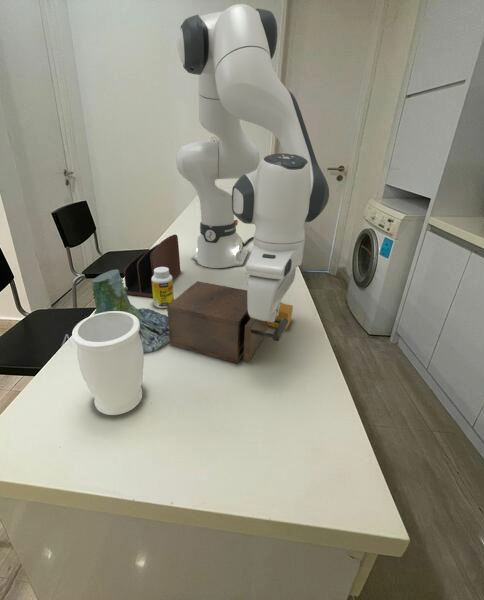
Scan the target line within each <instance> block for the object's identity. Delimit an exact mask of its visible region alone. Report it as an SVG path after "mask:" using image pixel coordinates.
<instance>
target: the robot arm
mask: <svg viewBox="0 0 484 600" xmlns="http://www.w3.org/2000/svg"><path fill="white" fill-rule="evenodd" d="M179 29H180V30H179V34H178V37H177V51H178V56H179V60H180V61H181V63H182V67H183V69H184V70H185V71H186V72H187V73H188V74H191V75H196V76H197V75H198V120H199V123H200V125H201V127H202V128H203V129H204V130H206V131H207V132H208V133H210V134H212V135H214V136H216V137H217V138H218V139H219V140H215V141H195V142H191V143H187V144H183V145H182V146H181V147H180V148H179V150H178V152H177V155H176V161H175V162H176V167H177V170H178V173H179V174H180V175H181V177H182V178H184V179H185V180H186V181H187V182H189V183H190V184H191V186H192V187H193V188H194V190H195V191H196V193H197V196H198V199H199V205H200V219H201V220H200V222H199V232H200V235H199V236H198V237H197V240H196V253H195V254H194V255H193V259H194V260H195V261H196V262H197V264H198V265H199V266H201V267H205V268H210V269H226V268H230V267H240V266H243V265H244V264H245V275H248V279H247V286H246V287H247V288H246V290H247V306H248V314H249V316H250V317H251V318H253V319H257V320H262V321H268V322H274V321H275V320H276V318H277V316H278V314H279V307H280V304H281V303H282V301H283V299H284V297H285V295H286V294H287V292H288V291H289V289H290V288H291V286H292V285H293V283H294V281H295V278H296V271H297V270H296V269H297V268H298V267H300V266H301V265H302V263H303V260H304V250H305V243H306V242H305V241H306V231H305V223H310V222H312V221H314V220H316V218H318V217H319V216H320V214H322V213H323V211H324V209H325V208H326V206H327V204H328V202H329V199H330V188H329V187H330V186H329V184H328V183H329V182H328V181H327V178H326V177H325V175H324V172H323V171H322V169H321V167H320V165H319V163H318V161H317V158H316V154H315V151H314V149H313V146H312V142H311V139H310V137H309V136H310V135H309V132H308V130H307V127H306V124H305V121H304V118H303V115H302V112H301V109H300V106H299V103H298V101H297V99H296V96H295V95H294V93H292V92H291V91H290V90H289V89H287V88H286V86H285V85H284V84H283V82H282V81H281V80H280V78H279V76H278V75H277V72H276V71H275V68H274V65H273V62H272V59H273V58H274V55H275V53H276V49H277V43H278V23H277V19H276V17H275V15H274V13H273V12H272V11H270V10H269V9H265V8H258V7H257V8H256V9H255V8H254V7H252V6H250V5H248V4H245V3H237V4H233V5H231V6H229V7H227V8H226V9H224V10H222V11H216V12H211V13H206V14H202V15H199V14H195V15H192V16H189V17H187V18H185V19H184V21H182V23H181V25H180V28H179ZM240 120H241V121H244V122H247V123H251V124H254V125H256V126H260V127H262V128H264V129H266V130H267V131H269V132H270V133H272V134H273V135H274V136H275V137H276V138H277V140H278V142H279V144H280V147H281V151H282V153H272V154H268V155H266V156H264V157H263V158H262V159H261V160H260V152H259V149H258V147H257V146H256V144H255V143H254V142H253V141H252V140H250V139H249V138H248V137H247V136H246V134H245V132H244V131H243V129H242V126H241V121H240ZM234 179H237V180H236V182H234V185H233V186H232V189H231V193H229V192H228V191H226V190H224V189H222V188H220V187H218V186H217V185H216V181H217V180H234ZM235 218H237V219H235ZM239 221H240V222H242V223H243V224H247V225H254V226H255V229H254V234H253V236H252V237H250V238H248V239H247V241H246V242H245V243H244V241H243V237H241V236H240V235H239V234H238V233H237V226H238V224H239ZM252 240H253V244H252V247H251V253H250V255H249V256H248V254H249V249H248V248H247V249H246V248H244V246H247V245H248V244H249V242H250V241H252ZM247 256H248V259H247ZM246 259H247V261H246V263H245V260H246Z"/></svg>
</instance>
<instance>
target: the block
mask: <svg viewBox="0 0 484 600" xmlns="http://www.w3.org/2000/svg"><path fill="white" fill-rule="evenodd" d="M293 306H294V305H293V304H289V303H283V302H281V304H280V307H279V314H278V316H277V318H276V319H279V320H282V319H283V318H285V319H287V320H288V324H287V326H286V328H285V330H284V331H287V330H288V327H289V326H290V324H291V322H292V315H293V308H294V307H293ZM278 325H279V323H275V322H268V327H272V328H275V329H277V327H278Z"/></svg>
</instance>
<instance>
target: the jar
mask: <svg viewBox="0 0 484 600" xmlns="http://www.w3.org/2000/svg"><path fill="white" fill-rule="evenodd" d="M139 329H140V324H139V320H138V318H137V317H136V316H134V315H133V314H130V313H127V312H122V311H109V312H102V313H98V314H95V315H94V314H92V315H90V316H88V317H85V318H84V319H82V320H80V321H79V322H78V323H77V324H76V325H75V326H74V327H73V329H72V332H71V336H72V340H73V342H74V344H75V345H76V346H77V347H76V352H77V353H76V354H77V363H78V367H79V370H80V374H81V376H82V379H83V380H84V382H85V384H86V387H87V390H88V392H89V393H90V394H91V396H92V398H94V407H95V408H96V410H97V411H98V412H100V413H101V414H104V415H108V416H117V415H118V416H119V415H122V414H127V413H129V412H130V411H132V410H133V409H134V408H136V407H137V406H138V405H139V404H140V402H141V400H142V398H143V389H142V387H141V386H142V382H143V379H144V378H143V377H144V364H145V363H144V361H145V353H143V347H142V342H141V339H140V336H139V334H138V332H139Z"/></svg>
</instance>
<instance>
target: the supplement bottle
mask: <svg viewBox="0 0 484 600" xmlns="http://www.w3.org/2000/svg"><path fill="white" fill-rule="evenodd" d="M151 280H152V291H153V297H152V302H153V305H154V307H156V308H159V309H167V305H169V304H170V303H171V302H172V301H174V300H175V298H174V280H173V279H172V276H171V275H170V274H169V269H168V268H167V267H158V268H155V269H154V275H153V276H152V279H151Z"/></svg>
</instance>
